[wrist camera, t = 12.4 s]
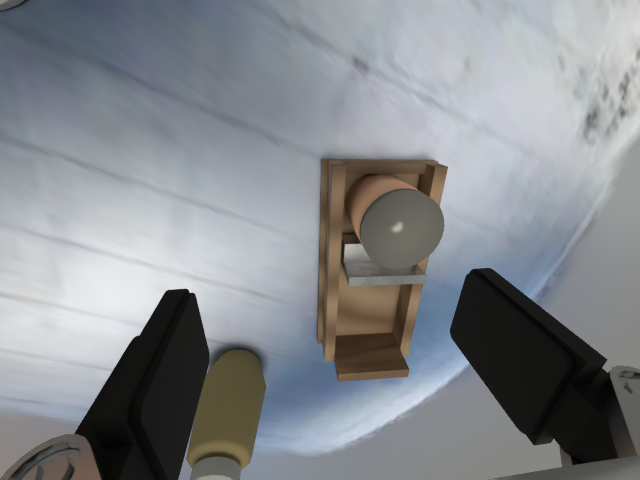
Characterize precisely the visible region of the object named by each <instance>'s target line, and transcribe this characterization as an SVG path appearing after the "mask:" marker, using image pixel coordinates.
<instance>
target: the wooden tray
mask: <svg viewBox="0 0 640 480" xmlns="http://www.w3.org/2000/svg"><path fill="white" fill-rule="evenodd" d="M447 169H448V167H447V166H444V165H441V164H438V161H435V160H346V159H322V160H321V203H320V245H319V288H318V330H317V339H318V343H322V344H323V351H324V359H325V361H334V362H335V368H336V373H337V379H338V382H339V381H353V380H367V379H382V378H396V377H408V373H409V368H408V366H407V363H406V361H405V359H404V357H403V356H408V353H409V348H410V343H411V338H412V334H413V329H414V324H415V320H416V315H417V310H418V305H419V301H420V296H421V291H422V287H423V284H398V285H370V286H349V285H348V282H347V279H346V276H345V273H344V270H343V267H342V264H341V261H340V257H341V241H342V234H356V233H355V231H354V229H353V227H352V225H351V223H350V221H349V220H348V217H347V215H346V212H345V199H346V195H347V193H348V191H349V189H350V187H351V186H352V185H353V183H354V182H355V181H356V180H358V179H359V178H360V177H362V176H363V175H366V174H393V175H394V176H396V177H398V178H399V179H401V180H403V181H404V182H406V183H408V184H409V185H411V186H412V187H414V188H416V189H417V190H419V191H421V192H422V193H424V194H425V195H427V196H429V197H430V198H432V199H433V200H434V201H435V202H436V203H437V204H438V206H439V207H440V202H441V197H442V192H443V188H444V183H445V178H446V174H447ZM428 258H429V256H428V257H427V258H426V259H424V260H423V261H421V262H420V263H418V265H419V267H420V268H421V269H422V270H423V271H424V273H425V272H426V268H427V263H428Z"/></svg>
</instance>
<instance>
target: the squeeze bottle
mask: <svg viewBox="0 0 640 480" xmlns="http://www.w3.org/2000/svg"><path fill="white" fill-rule="evenodd" d="M265 389H266V384H265V381H264V377H263V373H262V369H261V366H260V362H259V359H258V358H257V357H256V356H255V354H253V353H251V352H249V351H247V350H240V349H236V350H230V351H228V352H226V353H223V354H222V355H221V356H220V357H219V359H218V360H217V361H216V362H215V364H214V365H213V366H212V368H211V369H210V370H209V372H208V373H207V374H206V376H205V380H204V384H203V388H202V391H201V395H200V399H199V403H198V407H197V410H196V415H195V419H194V424H193V429H192V434H191V438H190V443H189V448H188V453H187V458H186V459H187V461H188V463H189V465H190V467H191V468H192V473H191V477H190V480H240V473H241V470H242V469H243V468H244V467H246V466H247V465H248V464H249V463H250V460H251V457H252V453H253V448H254V443H255V438H256V433H257V428H258V423H259V419H260V414H261V409H262V404H263V399H264V394H265Z"/></svg>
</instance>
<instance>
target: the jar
mask: <svg viewBox="0 0 640 480" xmlns="http://www.w3.org/2000/svg"><path fill="white" fill-rule="evenodd" d="M345 212H346V215H347V217H348V220H349V221H350V223H351V225H352V227H353V229H354V231H355V233H356V234H357V236H358V238H359V240H360V242H361V244H362V246H363V248H364V249H365V251H366V253H367V255H368V256H369V257H370V258H371V259H372V260H373V261H374V262H375V263H377V264H378V265H380V266H383V267H386V268H391V269H402V268H407V267H410V266H413V265H416V264H418V263H420V262H421V261H423V260H424V259H426V258H427V257H428V256H429V255H430V254H431V253H432V252H433V251H434V250H435V248H436V247H437V246H438V244H439V242H440V240H441V238H442V234H443V230H444V217H443V214H442V211H441V209H440V207H439V206H438V204H437V203H436V202H435V201H434V200H433V199H432V198H430V197H429V196H427V195H425V194H424V193H422V192H421V191H419V190H417V189H416V188H414V187H412V186H411V185H409V184H408V183H406V182H404V181H403V180H401V179H399V178H398V177H396V176H394V175H393V174H366V175H363V176H362V177H360V178H359V179H358V180H356V181H355V182H354V183H353V185H352V186H351V187H350V189H349V191H348V193H347V195H346V199H345Z"/></svg>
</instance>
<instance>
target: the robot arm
mask: <svg viewBox="0 0 640 480" xmlns="http://www.w3.org/2000/svg"><path fill="white" fill-rule="evenodd" d="M23 1H24V0H0V11H1V10H6V9H9V8H11V7H14V6H16V5H19V4H20V3H21V2H23ZM450 334H451V337H452V339H453V341H454V342H455V343H456V345H457V346H458V348H459V349H460V350H461V352H462V353H463V354H464V356H465V357H466V359H467V360H468V361H469V363H470V364H471V365H472V367H473V368H474V369H475V371H476V372H477V374H478V375H479V376H480V378H481V379H482V380H483V382H484V383H485V385H486V386H487V387H488V388H489V390H490V391H491V393H492V394H493V395H494V397H495V398H496V400H497V401H498V402H499V404H500V405H501V406H502V408H503V409H504V410H505V412H506V413H507V414H508V416H509V417H510V419H511V420H512V421H513V423H514V424H515V426H516V427H517V428H518V429H519V430H520V431H521V432H522V433H524V434H526V435H527V437H528V438H529V439H530V441H531V442H532V444H533V445H540V444H546V443H551V442H552V440H553V439H555V440H556V442H557V443H558V444H559V445H560V454H561V462H562V467H560V468H555V469H548V470H542V471H537V472H530V473H524V474H518V475H512V476H506V477H500V478H494V479H488V480H640V369H637V368H633V367H629V366H616V367H612V369H611V370H610V371H609V372H608V373H607V372H606V371H605V370H604V369H602V367H603V365H604V364H605V362H606V361H607V359H606V358H605V357H603V356H602V355H601V354H599V353H598V352H597V351H596V350H594V349H593V348H592V347H591V346H589V345H588V344H587V343H586V342H584V341H583V340H582V339H580V338H579V337H578V336H576V335H575V334H574V333H573V332H571V331H570V330H569V329H568V328H566V327H565V326H564V325H563V324H561V323H560V322H559V321H558V320H556V319H555V318H554V317H552V316H551V315H550V314H549V313H547V312H546V311H545V310H544V309H542V308H541V307H540V306H538V305H537V304H536V303H535V302H533V301H532V300H531V299H530V298H528V297H527V296H526V295H524V294H523V293H522V292H521V291H519V290H518V289H517V288H516V287H514V286H513V285H512V284H510V283H509V282H508V281H507V280H505V279H504V278H503V277H502V276H500V275H499V274H498V273H496V272H495V271H494V270H492V269H491V268H481V269H473V270H471V271H470V273H469V274H467V275H466V278H465V281H464V284H463V288H462V291H461V294H460V298H459V301H458V305H457V308H456V311H455V315H454V318H453V321H452V325H451V328H450ZM208 365H209V350H208V346H207V341H206V337H205V333H204V329H203V325H202V320H201V316H200V312H199V308H198V304H197V299H196V296H195V294H194V293H189V290H188V289H176V290H167V291H166V292H165V294H164V295H163V297H162V299H161V300H160V302H159V304H158V305H157V307H156V309H155V310H154V312H153V314H152V315H151V317H150V319H149V321H148V322H147V324H146V326H145V327H144V329H143V331H142V332H141V334H140V336H136V337H135V338H134V339H133V340H132V341H131V342H130V344H129V345H128V347H127V349H126V350H125V352H124V354H123V355H122V357H121V359H120V360H119V362H118V363H117V365H116V367H115V368H114V370H113V372H112V373H111V375H110V376H109V378H108V380H107V381H106V383H105V385H104V386H103V388H102V389H101V391H100V393H99V394H98V396H97V398H96V399H95V401H94V403H93V404H92V406H91V407H90V409H89V411H88V412H87V414H86V416H85V417H84V419H83V420H82V422H81V424H80V425H79V427H78V429H77V430H76V432H75V434H67V435H62V436H59V437H56V438H52V439H50V440H48V441H46V442H44V443H42V444H40V445H38V446H37V447H35V448H34V449H33V450H31V451H29V452H28V453H27V454H25V455H24V456H23V457H21V458H20V459H19V460H18V461H17V462H16V463H15V464H14V465H13V466H11V467H10V468H9V469H8V470H7V471H6V472H5V474H4V475H3V476H2V477H1V479H0V480H178V478H179V474H180V471H181V467H182V463H183V459H184V456H185V452H186V448H187V444H188V441H189V437H190V433H191V429H192V425H193V422H194V418H195V414H196V410H197V407H198V403H199V399H200V395H201V391H202V388H203V384H204V380H205V376H206V373H207V369H208Z"/></svg>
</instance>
